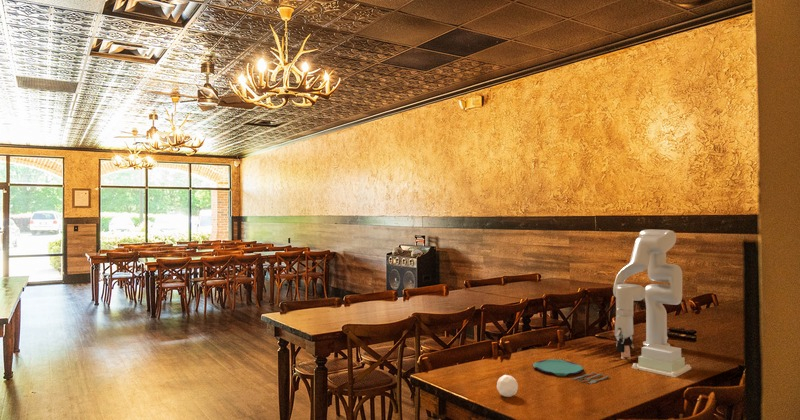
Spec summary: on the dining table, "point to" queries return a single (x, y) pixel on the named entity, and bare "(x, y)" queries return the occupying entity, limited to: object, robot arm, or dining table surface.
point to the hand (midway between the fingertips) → (624, 350)
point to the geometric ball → (507, 386)
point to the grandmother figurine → (626, 348)
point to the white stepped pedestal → (662, 360)
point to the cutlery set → (564, 369)
